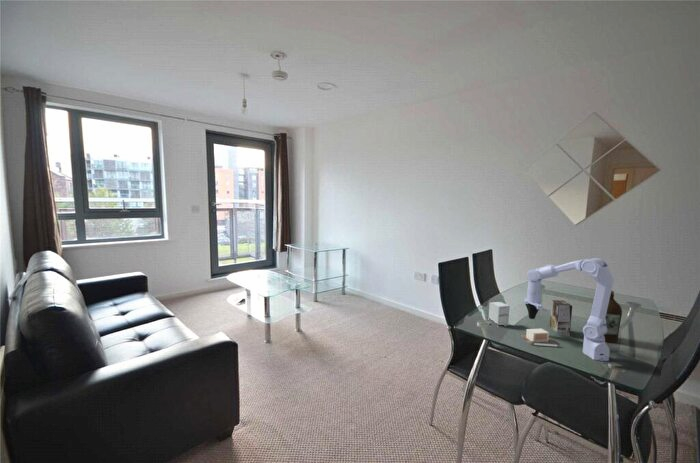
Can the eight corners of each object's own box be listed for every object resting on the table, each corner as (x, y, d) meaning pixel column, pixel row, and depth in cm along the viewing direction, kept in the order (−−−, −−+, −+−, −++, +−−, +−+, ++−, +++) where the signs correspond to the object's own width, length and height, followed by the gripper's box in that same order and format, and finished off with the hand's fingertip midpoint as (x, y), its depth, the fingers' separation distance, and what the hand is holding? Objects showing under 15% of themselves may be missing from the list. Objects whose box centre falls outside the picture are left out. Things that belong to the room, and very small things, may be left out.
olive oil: (589, 332, 162) (593, 286, 159) (614, 336, 158) (618, 289, 155) (596, 341, 152) (600, 292, 150) (622, 345, 148) (628, 295, 146)
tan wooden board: (560, 350, 141) (560, 347, 141) (530, 348, 143) (530, 345, 143) (547, 339, 153) (547, 336, 153) (519, 337, 155) (519, 334, 155)
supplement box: (497, 329, 165) (498, 306, 163) (487, 324, 172) (489, 302, 170) (508, 328, 167) (510, 305, 165) (498, 322, 174) (500, 301, 172)
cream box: (526, 337, 151) (526, 329, 150) (540, 337, 152) (541, 328, 151) (533, 342, 146) (534, 333, 145) (548, 341, 147) (549, 332, 146)
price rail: (559, 347, 141) (559, 344, 141) (531, 345, 143) (532, 342, 143) (558, 346, 142) (558, 343, 142) (530, 344, 144) (531, 341, 144)
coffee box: (570, 336, 157) (573, 305, 156) (556, 335, 158) (559, 304, 157) (562, 329, 166) (564, 300, 165) (548, 328, 167) (551, 299, 166)
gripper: (519, 288, 163) (517, 312, 164) (531, 296, 148) (529, 323, 150) (533, 289, 162) (531, 313, 163) (547, 297, 147) (545, 324, 149)
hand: (531, 318), depth 156 cm, fingers closed
